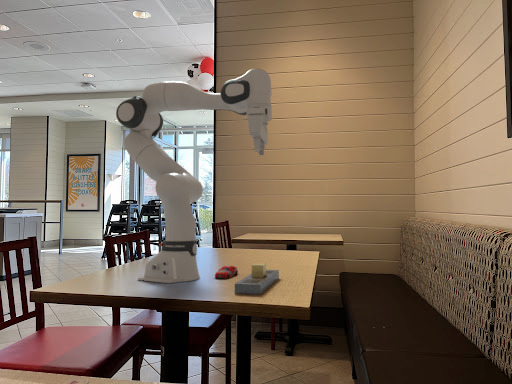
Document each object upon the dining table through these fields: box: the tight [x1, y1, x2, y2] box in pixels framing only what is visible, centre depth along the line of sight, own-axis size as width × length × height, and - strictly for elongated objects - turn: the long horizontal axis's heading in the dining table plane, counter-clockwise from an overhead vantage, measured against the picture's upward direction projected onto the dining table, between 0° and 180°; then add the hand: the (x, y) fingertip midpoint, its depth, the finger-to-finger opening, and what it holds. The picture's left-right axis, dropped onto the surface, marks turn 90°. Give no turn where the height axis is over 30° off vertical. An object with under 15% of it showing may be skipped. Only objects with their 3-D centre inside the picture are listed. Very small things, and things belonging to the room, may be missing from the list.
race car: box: [214, 265, 239, 280], centre depth 144 cm, size 13×5×4 cm, turn 159°
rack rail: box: [234, 269, 280, 296], centre depth 127 cm, size 8×28×3 cm, turn 165°
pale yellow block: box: [251, 263, 267, 278], centre depth 127 cm, size 4×4×7 cm
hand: (259, 153), depth 133 cm, fingers open, 8 cm apart
